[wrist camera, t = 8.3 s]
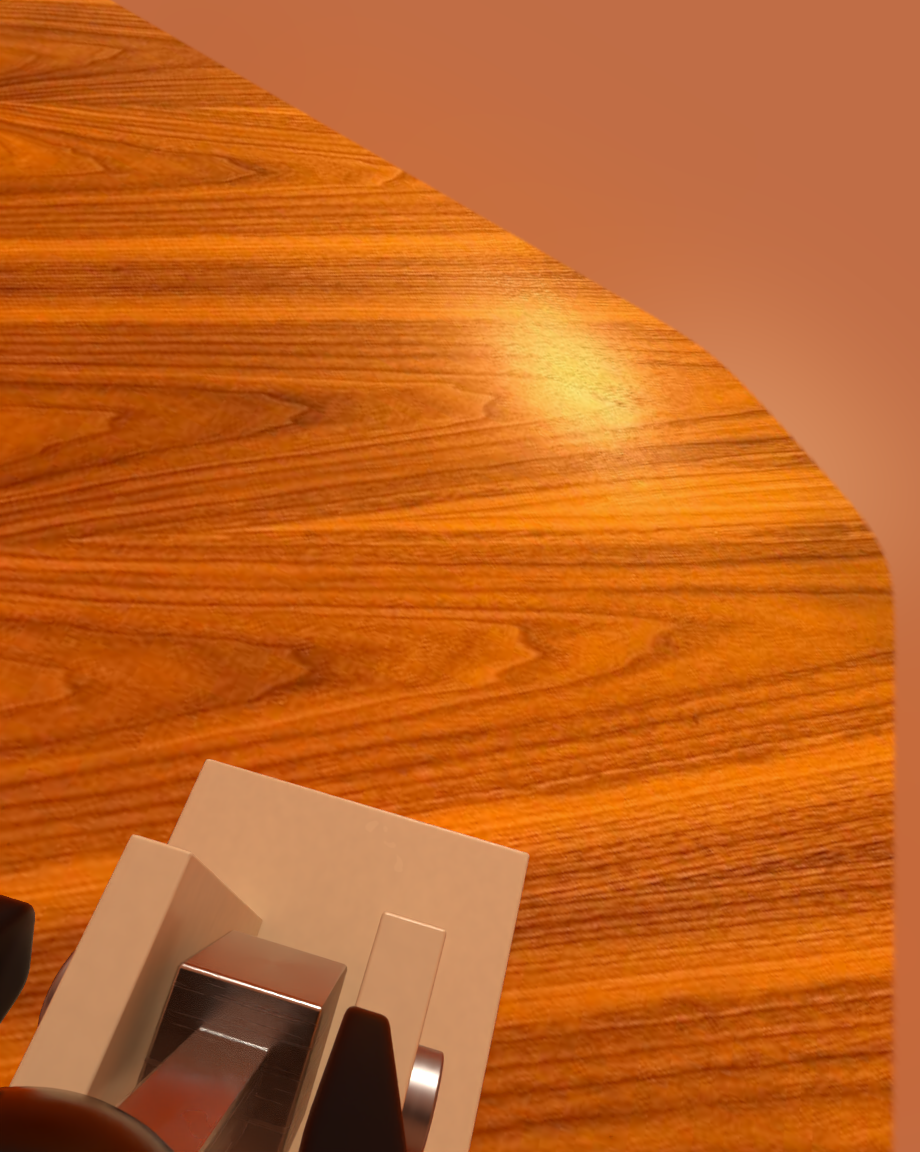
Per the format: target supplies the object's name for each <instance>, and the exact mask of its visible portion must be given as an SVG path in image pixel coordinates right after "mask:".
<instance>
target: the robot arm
mask: <svg viewBox="0 0 920 1152" xmlns="http://www.w3.org/2000/svg"><path fill="white" fill-rule="evenodd" d="M34 923H35V912H34V909H33V907H32V906H31V905H29V904H28V903H25V902H22V901H19V900H16V899H13V898H9V897H6V896H3V895H0V1023H1V1022H2V1020H3V1019H4V1017H5V1016H6V1014H7V1013H8V1011H9V1010H10V1008H11V1007H12V1005H13V1004H14V1002H15V1001H16V999H17V998H18V996H19V994H20V993H21V991H22V989H23V987H24V985H25V982H26V980H27V977H28V974H29V969H30V961H31V951H32V942H33V932H34ZM298 1152H407V1145H406V1138H405V1131H404V1123H403V1116H402V1109H401V1101H400V1094H399V1087H398V1080H397V1072H396V1065H395V1058H394V1050H393V1043H392V1036H391V1029H390V1024H389V1021H388V1019H387V1017H386V1016H384V1015H382V1014H379V1013H376V1012H373V1011H370V1010H367V1009H363V1008H360V1007H357V1006H351V1007H349V1008H348V1009H347V1010H346V1012H345V1014H344V1016H343V1019H342V1022H341V1025H340V1027H339V1030H338V1033H337V1036H336V1039H335V1041H334V1044H333V1047H332V1050H331V1053H330V1055H329V1058H328V1061H327V1064H326V1067H325V1069H324V1072H323V1075H322V1078H321V1081H320V1083H319V1086H318V1089H317V1092H316V1095H315V1097H314V1100H313V1103H312V1106H311V1109H310V1112H309V1115H308V1118H307V1121H306V1125H305V1128H304V1131H303V1135H302V1139H301V1143H300V1147H299V1151H298Z"/></svg>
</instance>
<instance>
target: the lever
mask: <svg viewBox="0 0 920 1152" xmlns="http://www.w3.org/2000/svg"><path fill="white" fill-rule="evenodd" d="M346 973H347V966H346V965H345V964H342V963H339V962H336V961H333V960H330V959H326V958H323V957H320V956H317V955H313V954H310V953H307V952H304V951H300V950H297V949H294V948H291V947H288V946H284V945H281V944H278V943H275V942H271V941H268V940H265V939H262V938H258V937H255V936H252V935H249V934H245V933H242V932H239V931H236V930H231V931H229V932H228V933H226V934H225V935H223V936H222V937H220V938H218V939H217V940H215V941H214V942H212V943H211V944H209V945H207V946H206V947H204V948H203V949H201V950H200V951H198V952H197V953H195V954H193V955H192V956H190V957H189V958H187V959H186V960H184V961H182V962H181V963H180V964H179V965H178V966H177V969H176V972H175V975H174V978H173V981H172V983H171V986H170V989H169V992H168V995H167V998H166V1001H165V1003H164V1006H163V1009H162V1012H161V1015H160V1018H159V1021H158V1023H157V1026H156V1029H155V1032H154V1035H153V1038H152V1040H151V1043H150V1046H149V1049H148V1052H147V1055H146V1058H145V1060H144V1063H143V1066H142V1069H141V1072H140V1075H139V1077H138V1080H137V1083H136V1086H135V1088H134V1089H133V1090H132V1091H131V1092H130V1093H129V1094H127V1095H126V1096H125V1097H124V1098H123V1099H122V1100H121V1101H120V1102H119V1103H118V1104H117V1105H116V1106H113V1105H111V1104H109V1103H107V1102H105V1101H102V1100H100V1099H97V1098H94V1097H91V1096H88V1095H85V1094H81V1093H77V1092H73V1091H69V1090H63V1089H57V1088H48V1087H35V1086H13V1087H1V1088H0V1152H289V1150H290V1147H291V1145H292V1143H293V1141H294V1138H295V1136H296V1134H297V1131H298V1129H299V1127H300V1124H301V1122H302V1120H303V1118H304V1115H305V1113H306V1109H307V1106H308V1103H309V1099H310V1096H311V1092H312V1089H313V1085H314V1082H315V1079H316V1075H317V1072H318V1068H319V1065H320V1061H321V1058H322V1055H323V1051H324V1048H325V1044H326V1041H327V1038H328V1034H329V1031H330V1027H331V1024H332V1020H333V1017H334V1014H335V1010H336V1007H337V1003H338V1000H339V997H340V993H341V990H342V986H343V983H344V979H345V976H346Z"/></svg>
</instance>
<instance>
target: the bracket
mask: <svg viewBox="0 0 920 1152" xmlns="http://www.w3.org/2000/svg"><path fill="white" fill-rule="evenodd" d="M528 861H529V854H528V853H526V852H522V851H519V850H515V849H512V848H509V847H505V846H502V845H499V844H495V843H492V842H488V841H485V840H482V839H478V838H475V837H472V836H468V835H465V834H461V833H458V832H455V831H451V830H448V829H445V828H441V827H438V826H434V825H431V824H428V823H424V822H421V821H418V820H414V819H411V818H407V817H404V816H401V815H397V814H394V813H391V812H387V811H384V810H380V809H377V808H374V807H370V806H367V805H364V804H360V803H357V802H353V801H350V800H347V799H343V798H340V797H337V796H333V795H330V794H326V793H323V792H320V791H316V790H313V789H310V788H306V787H303V786H299V785H296V784H293V783H289V782H286V781H282V780H279V779H276V778H272V777H269V776H266V775H262V774H259V773H255V772H252V771H249V770H245V769H242V768H239V767H235V766H232V765H228V764H225V763H222V762H218V761H215V760H212V759H207V760H206V761H205V763H204V765H203V767H202V769H201V771H200V774H199V776H198V778H197V780H196V782H195V785H194V787H193V789H192V791H191V793H190V795H189V798H188V800H187V802H186V804H185V806H184V809H183V811H182V813H181V815H180V817H179V819H178V822H177V824H176V826H175V828H174V830H173V833H172V835H171V837H170V839H169V841H168V843H167V844H165V843H162V842H158V841H155V840H152V839H148V838H145V837H142V836H139V835H132V836H131V837H130V839H129V841H128V843H127V845H126V847H125V849H124V852H123V854H122V856H121V858H120V860H119V862H118V864H117V866H116V868H115V870H114V872H113V874H112V876H111V878H110V880H109V882H108V884H107V886H106V888H105V891H104V893H103V895H102V897H101V899H100V901H99V903H98V905H97V907H96V909H95V911H94V913H93V915H92V917H91V919H90V921H89V923H88V925H87V928H86V930H85V932H84V934H83V936H82V938H81V940H80V942H79V944H78V946H77V948H76V950H75V951H74V952H73V953H72V954H71V955H70V956H69V958H68V959H67V960H66V962H65V963H64V964H63V966H62V967H61V969H60V970H59V972H58V974H57V975H56V977H55V979H54V981H53V983H52V985H51V987H50V989H49V991H48V993H47V996H46V998H45V1001H44V1003H43V1006H42V1009H41V1013H40V1016H39V1021H38V1028H37V1030H36V1032H35V1034H34V1036H33V1038H32V1041H31V1043H30V1045H29V1047H28V1049H27V1051H26V1053H25V1055H24V1057H23V1059H22V1061H21V1063H20V1065H19V1067H18V1069H17V1071H16V1073H15V1075H14V1078H13V1080H12V1082H11V1084H10V1086H9V1087H13V1086H35V1087H48V1088H57V1089H63V1090H69V1091H73V1092H77V1093H81V1094H85V1095H88V1096H91V1097H94V1098H97V1099H100V1100H102V1101H105V1102H107V1103H109V1104H111V1105H113V1106H116V1105H117V1104H118V1103H119V1102H120V1101H121V1100H122V1099H123V1098H124V1097H125V1096H126V1095H127V1094H129V1093H130V1092H131V1091H132V1090H133V1089H134V1088H135V1086H136V1083H137V1080H138V1077H139V1075H140V1072H141V1069H142V1066H143V1063H144V1060H145V1058H146V1055H147V1052H148V1049H149V1046H150V1043H151V1040H152V1038H153V1035H154V1032H155V1029H156V1026H157V1023H158V1021H159V1018H160V1015H161V1012H162V1009H163V1006H164V1003H165V1001H166V998H167V995H168V992H169V989H170V986H171V983H172V981H173V978H174V975H175V972H176V969H177V966H178V965H179V964H180V963H181V962H182V961H184V960H186V959H187V958H189V957H190V956H192V955H193V954H195V953H197V952H198V951H200V950H201V949H203V948H204V947H206V946H207V945H209V944H211V943H212V942H214V941H215V940H217V939H218V938H220V937H222V936H223V935H225V934H226V933H228V932H229V931H231V930H236V931H239V932H242V933H245V934H249V935H252V936H255V937H258V938H262V939H265V940H268V941H271V942H275V943H278V944H281V945H284V946H288V947H291V948H294V949H297V950H300V951H304V952H307V953H310V954H313V955H317V956H320V957H323V958H326V959H330V960H333V961H336V962H339V963H342V964H345V965H346V966H347V973H346V976H345V979H344V983H343V986H342V990H341V993H340V997H339V1000H338V1003H337V1007H336V1010H335V1014H334V1017H333V1020H332V1024H331V1027H330V1031H329V1034H328V1038H327V1041H326V1044H325V1048H324V1051H323V1055H322V1058H321V1061H320V1065H319V1068H318V1072H317V1075H316V1079H315V1082H314V1085H313V1089H312V1092H311V1096H310V1099H309V1103H308V1106H307V1109H306V1113H305V1115H304V1118H303V1120H302V1122H301V1124H300V1127H299V1129H298V1131H297V1134H296V1136H295V1138H294V1141H293V1143H292V1145H291V1147H290V1150H289V1152H298V1151H299V1147H300V1143H301V1139H302V1135H303V1131H304V1128H305V1125H306V1121H307V1118H308V1115H309V1112H310V1109H311V1106H312V1103H313V1100H314V1097H315V1095H316V1092H317V1089H318V1086H319V1083H320V1081H321V1078H322V1075H323V1072H324V1069H325V1067H326V1064H327V1061H328V1058H329V1055H330V1053H331V1050H332V1047H333V1044H334V1041H335V1039H336V1036H337V1033H338V1030H339V1027H340V1025H341V1022H342V1019H343V1016H344V1014H345V1012H346V1010H347V1009H348V1008H349V1007H351V1006H357V1007H360V1008H363V1009H367V1010H370V1011H373V1012H376V1013H379V1014H382V1015H384V1016H386V1017H387V1019H388V1021H389V1024H390V1029H391V1036H392V1043H393V1050H394V1058H395V1065H396V1072H397V1080H398V1087H399V1094H400V1101H401V1109H402V1116H403V1123H404V1131H405V1138H406V1145H407V1152H469V1149H470V1144H471V1139H472V1134H473V1129H474V1125H475V1120H476V1115H477V1110H478V1105H479V1100H480V1095H481V1090H482V1086H483V1081H484V1076H485V1071H486V1066H487V1061H488V1056H489V1051H490V1047H491V1042H492V1037H493V1032H494V1027H495V1022H496V1017H497V1012H498V1008H499V1003H500V998H501V993H502V988H503V983H504V978H505V973H506V969H507V964H508V959H509V954H510V949H511V944H512V939H513V934H514V930H515V925H516V920H517V915H518V910H519V905H520V900H521V895H522V891H523V886H524V881H525V876H526V871H527V866H528Z"/></svg>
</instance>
